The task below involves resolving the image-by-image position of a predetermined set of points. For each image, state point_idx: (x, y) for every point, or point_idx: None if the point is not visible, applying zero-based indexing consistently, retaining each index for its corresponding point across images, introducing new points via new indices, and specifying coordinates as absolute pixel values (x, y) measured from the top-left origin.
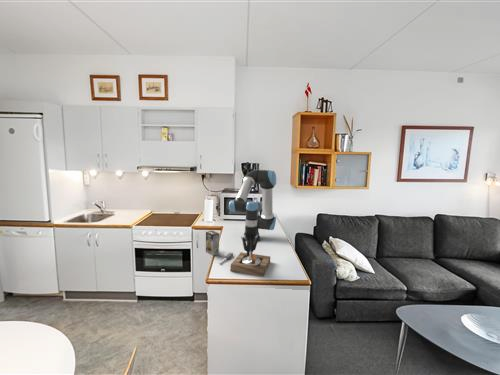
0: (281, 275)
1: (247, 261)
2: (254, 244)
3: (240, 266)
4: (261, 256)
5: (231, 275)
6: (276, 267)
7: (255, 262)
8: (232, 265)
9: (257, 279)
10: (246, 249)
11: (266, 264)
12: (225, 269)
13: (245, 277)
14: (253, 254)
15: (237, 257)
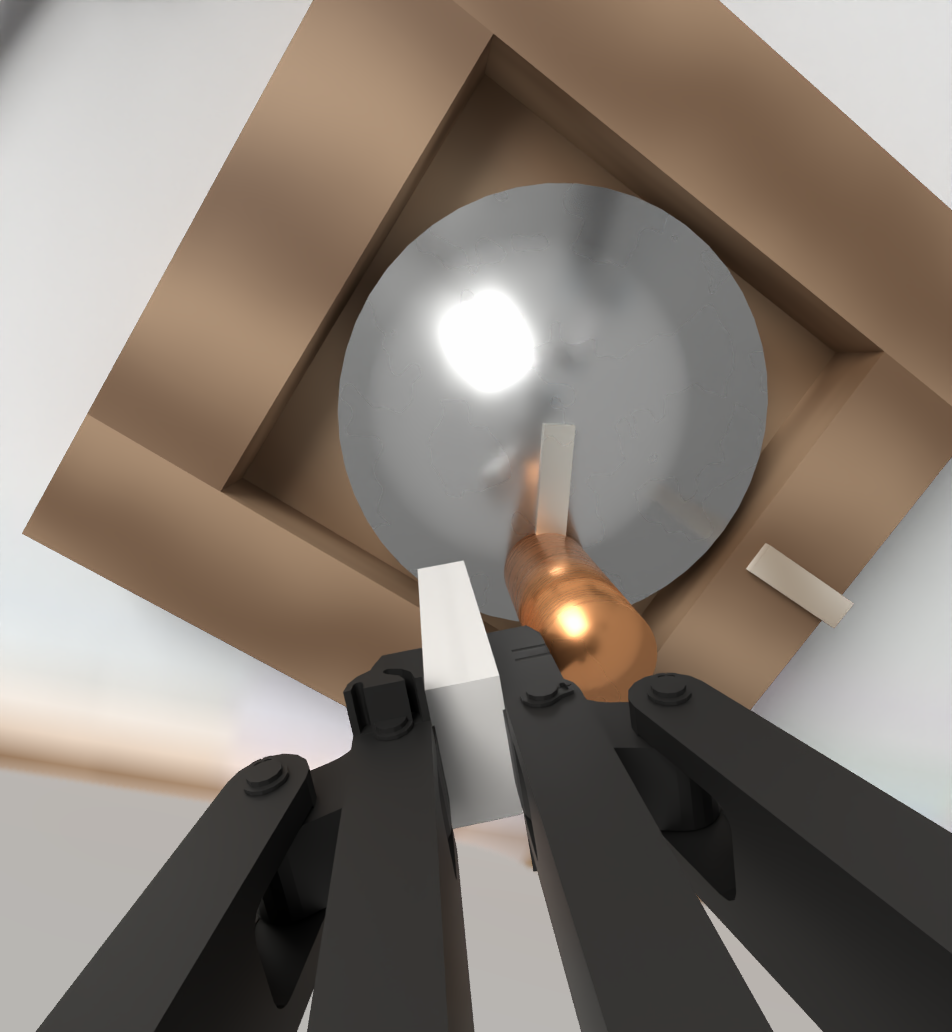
0: None
1: (452, 452)
2: (802, 951)
3: (238, 648)
4: (875, 256)
5: (98, 657)
6: (936, 548)
7: (608, 539)
8: (71, 553)
9: (482, 838)
10: (292, 954)
11: (781, 669)
12: (4, 415)
13: (320, 757)
14: (603, 639)
15: (260, 151)
